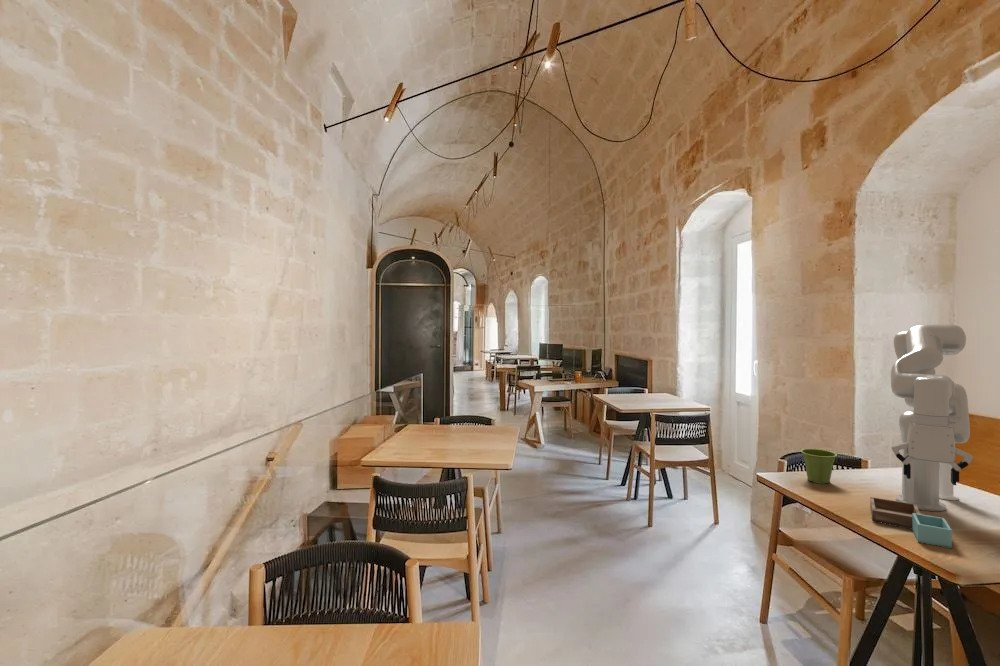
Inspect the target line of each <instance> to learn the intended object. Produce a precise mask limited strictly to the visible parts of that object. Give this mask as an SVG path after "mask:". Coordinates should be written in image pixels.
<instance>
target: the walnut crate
mask: <svg viewBox="0 0 1000 666" xmlns="http://www.w3.org/2000/svg"><path fill="white" fill-rule="evenodd" d="M869 502H870V506H869V509H870V508H871V509H870V514H871V515H870V516H871V521H876V522H875V523H878V522H882V523H881V524H883V523H886V524H885V525H889V524H891V525H890V526H894V525H896V526H895V527H899V526H901V528H905V527H906V529H910V528H912V513H916V514H921V512H920V509H918V507H917V505H916V504H912V503H906V502H900V501H896V500H892V499H887V498H880V497H874V496H870V500H869Z"/></svg>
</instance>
